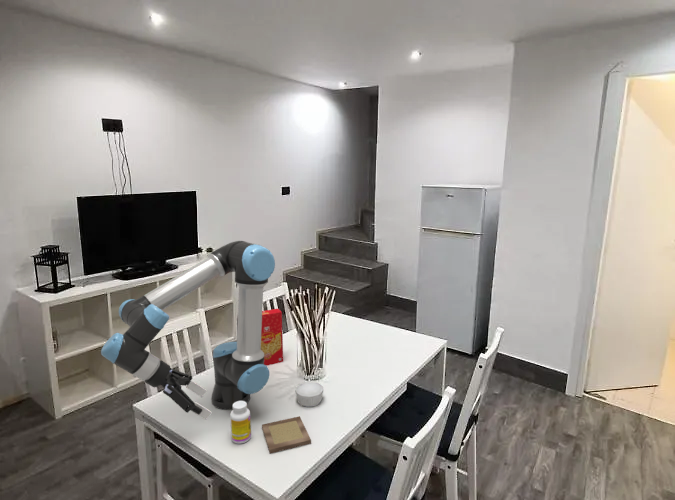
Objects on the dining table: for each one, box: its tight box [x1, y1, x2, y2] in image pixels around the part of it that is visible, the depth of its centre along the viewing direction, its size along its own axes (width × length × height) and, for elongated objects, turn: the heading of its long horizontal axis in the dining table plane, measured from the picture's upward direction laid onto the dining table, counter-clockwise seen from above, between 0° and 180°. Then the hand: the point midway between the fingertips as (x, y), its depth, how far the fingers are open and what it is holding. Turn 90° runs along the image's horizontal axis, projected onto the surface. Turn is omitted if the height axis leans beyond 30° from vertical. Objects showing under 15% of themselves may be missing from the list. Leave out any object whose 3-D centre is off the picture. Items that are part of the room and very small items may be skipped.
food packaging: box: [261, 308, 284, 367], centre depth 192 cm, size 15×5×25 cm, turn 118°
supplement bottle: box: [229, 401, 252, 444], centre depth 141 cm, size 7×7×13 cm
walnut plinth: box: [261, 416, 312, 454], centre depth 143 cm, size 14×14×2 cm
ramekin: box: [294, 381, 324, 408], centre depth 164 cm, size 11×11×5 cm
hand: (206, 404), depth 134 cm, fingers open, 13 cm apart
